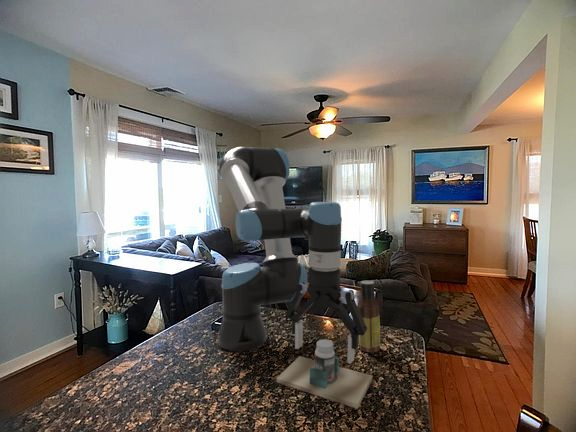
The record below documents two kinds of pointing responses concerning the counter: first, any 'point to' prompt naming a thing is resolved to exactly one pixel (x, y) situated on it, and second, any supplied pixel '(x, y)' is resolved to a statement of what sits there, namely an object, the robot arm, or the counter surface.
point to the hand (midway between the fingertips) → (323, 353)
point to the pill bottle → (325, 358)
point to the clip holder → (340, 389)
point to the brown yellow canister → (369, 318)
